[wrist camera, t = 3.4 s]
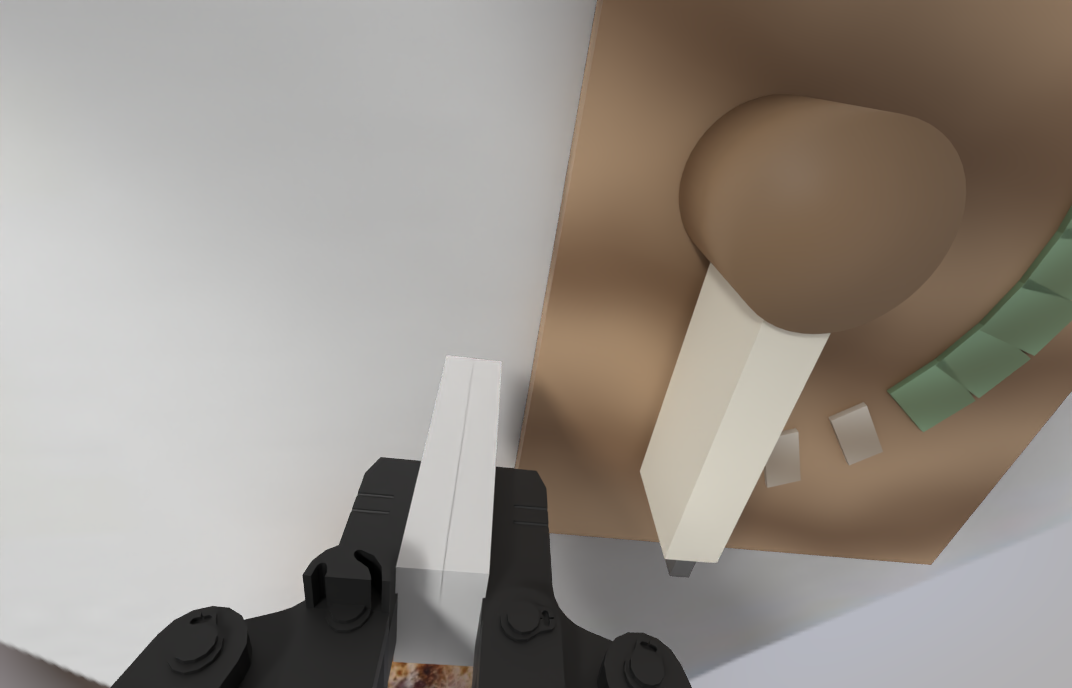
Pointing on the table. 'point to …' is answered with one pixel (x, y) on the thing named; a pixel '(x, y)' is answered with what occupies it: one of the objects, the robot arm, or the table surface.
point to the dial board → (848, 356)
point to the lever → (785, 286)
